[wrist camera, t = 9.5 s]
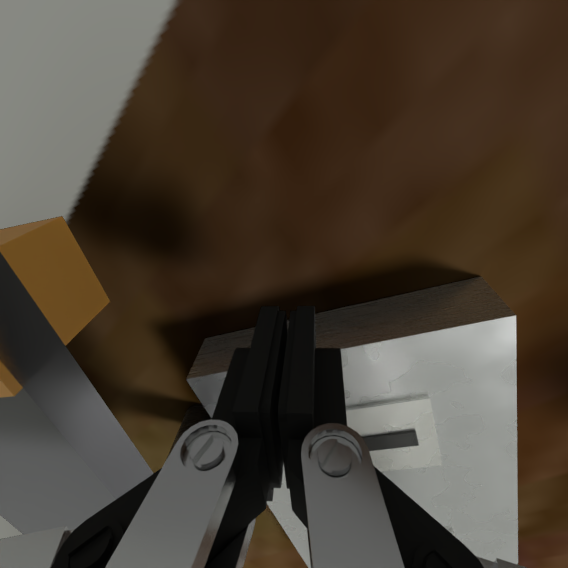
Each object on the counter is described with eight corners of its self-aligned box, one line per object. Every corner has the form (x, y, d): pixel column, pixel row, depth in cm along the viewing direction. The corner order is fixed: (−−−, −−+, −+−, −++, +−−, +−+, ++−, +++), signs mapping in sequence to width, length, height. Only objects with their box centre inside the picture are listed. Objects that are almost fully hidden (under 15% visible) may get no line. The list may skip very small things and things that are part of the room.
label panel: (497, 537, 25) (520, 593, 23) (323, 545, 29) (323, 595, 26) (481, 276, 15) (520, 320, 12) (205, 338, 18) (183, 384, 15)
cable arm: (231, 517, 18) (206, 637, 14) (148, 518, 18) (102, 631, 15) (62, 216, 10) (-114, 299, 6) (-71, 244, 10) (-298, 332, 7)
